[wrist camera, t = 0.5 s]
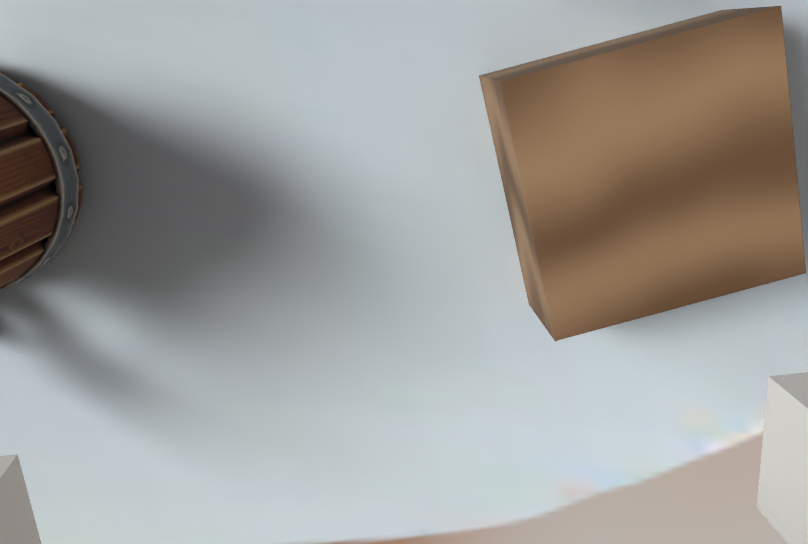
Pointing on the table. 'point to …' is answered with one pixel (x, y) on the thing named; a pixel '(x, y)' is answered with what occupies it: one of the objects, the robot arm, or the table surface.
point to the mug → (33, 183)
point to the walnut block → (650, 169)
